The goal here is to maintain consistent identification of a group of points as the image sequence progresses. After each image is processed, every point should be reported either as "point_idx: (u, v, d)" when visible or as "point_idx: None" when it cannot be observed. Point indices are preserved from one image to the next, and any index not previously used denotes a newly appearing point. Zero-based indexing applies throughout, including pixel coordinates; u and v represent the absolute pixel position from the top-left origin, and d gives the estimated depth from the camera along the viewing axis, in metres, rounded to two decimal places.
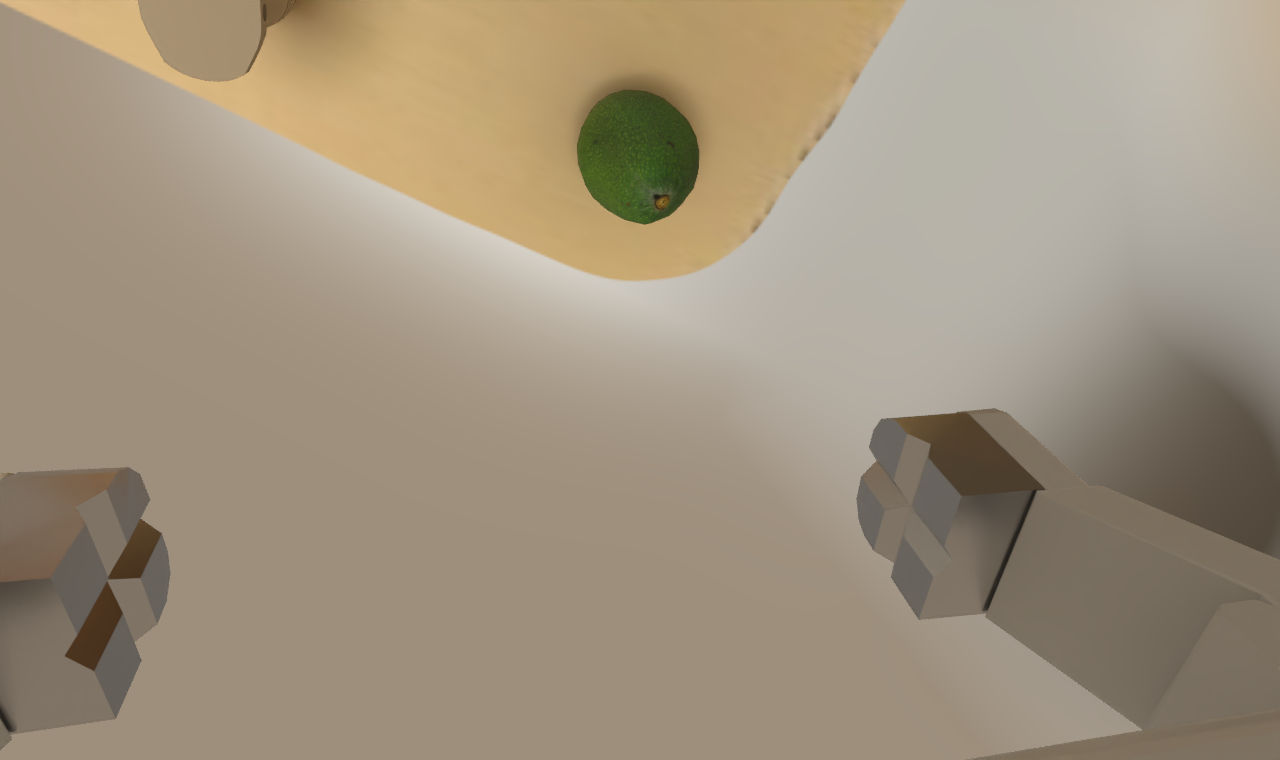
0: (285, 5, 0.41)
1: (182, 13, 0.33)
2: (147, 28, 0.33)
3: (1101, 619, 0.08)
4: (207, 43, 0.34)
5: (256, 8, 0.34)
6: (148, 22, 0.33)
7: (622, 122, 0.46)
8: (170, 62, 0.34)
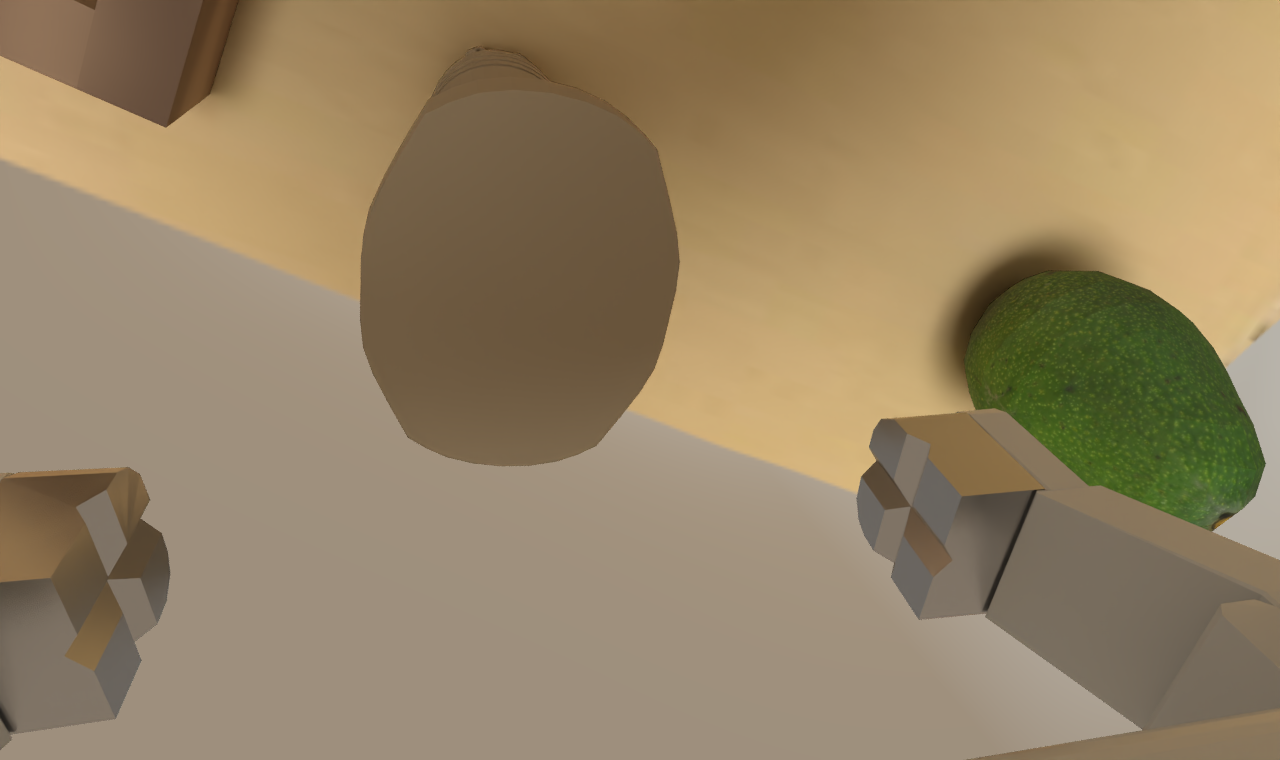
0: None
1: (473, 328, 0.12)
2: (376, 370, 0.12)
3: (1101, 619, 0.08)
4: (523, 388, 0.13)
5: (662, 305, 0.12)
6: (380, 357, 0.12)
7: (1138, 363, 0.25)
8: (422, 437, 0.13)
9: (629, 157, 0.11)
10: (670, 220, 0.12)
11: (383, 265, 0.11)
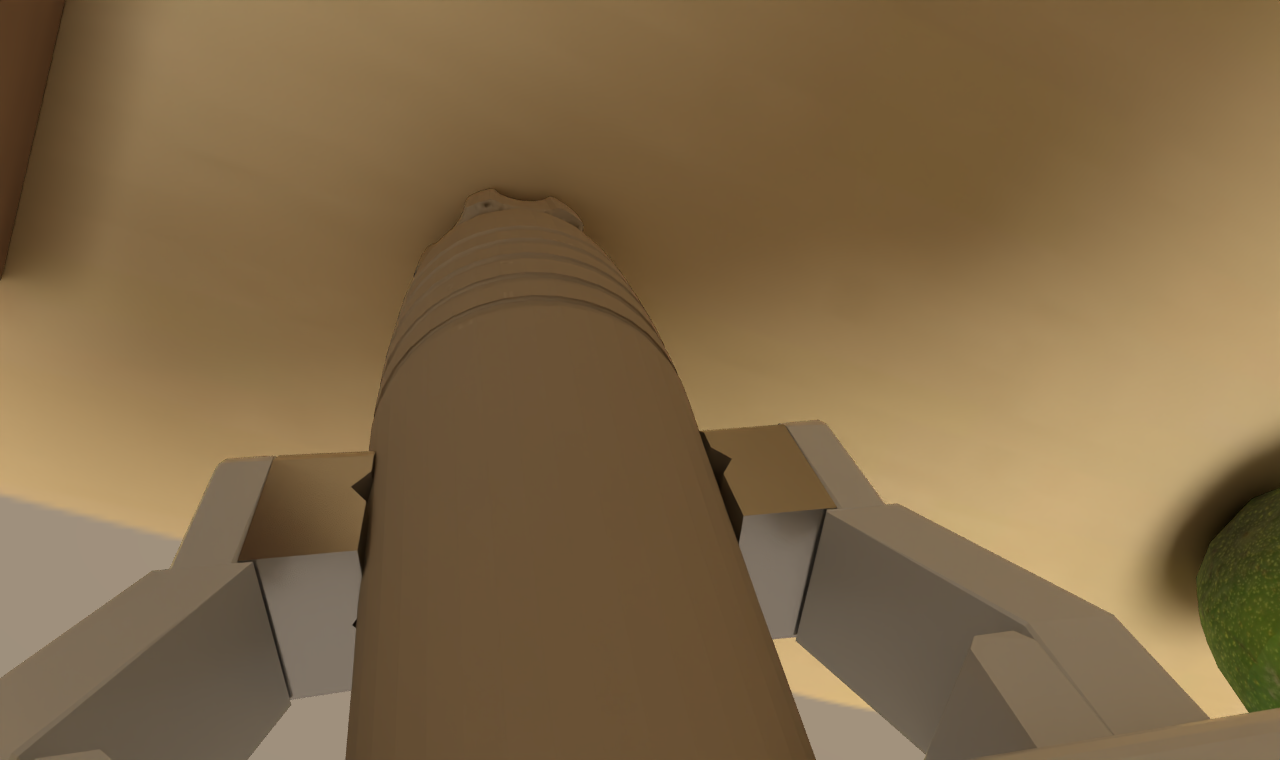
0: None
1: None
2: None
3: (891, 646, 0.07)
4: None
5: None
6: None
7: None
8: None
9: None
10: None
11: None
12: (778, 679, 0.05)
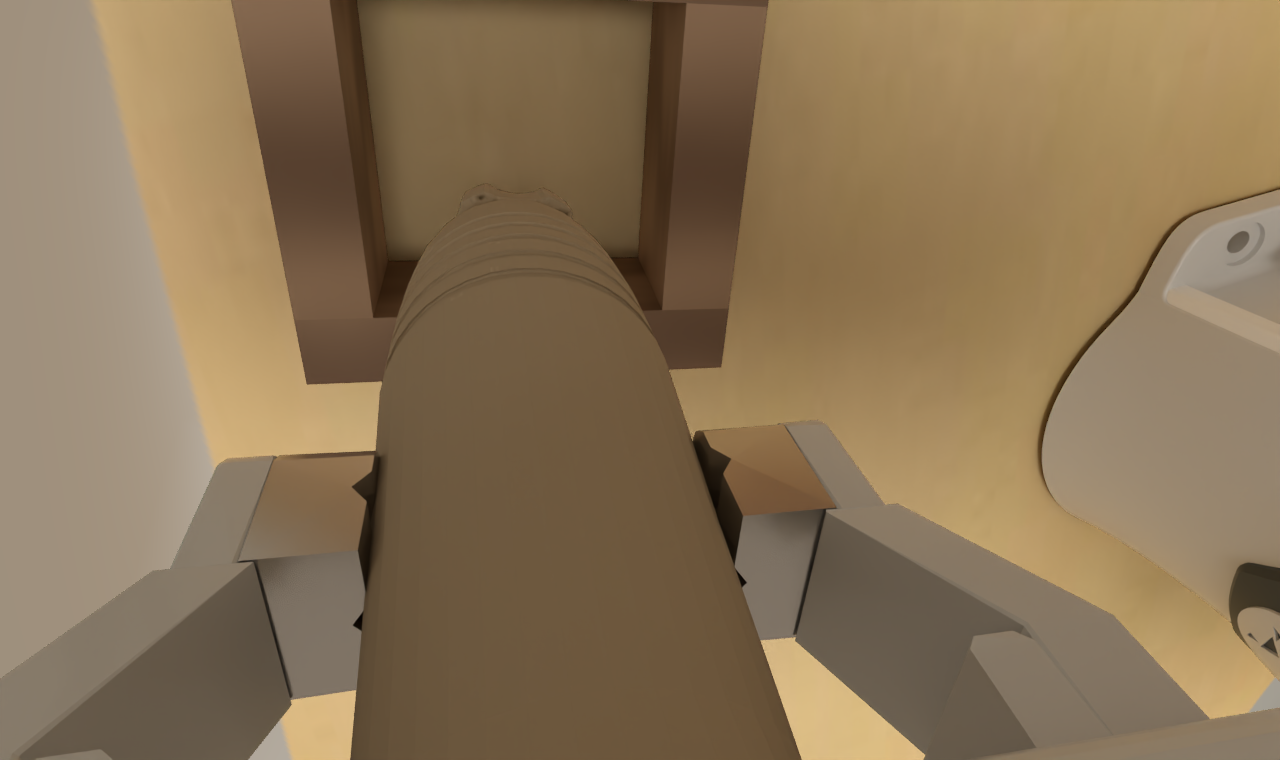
0: None
1: None
2: None
3: (890, 646, 0.07)
4: None
5: None
6: None
7: None
8: None
9: None
10: None
11: None
12: (722, 568, 0.06)
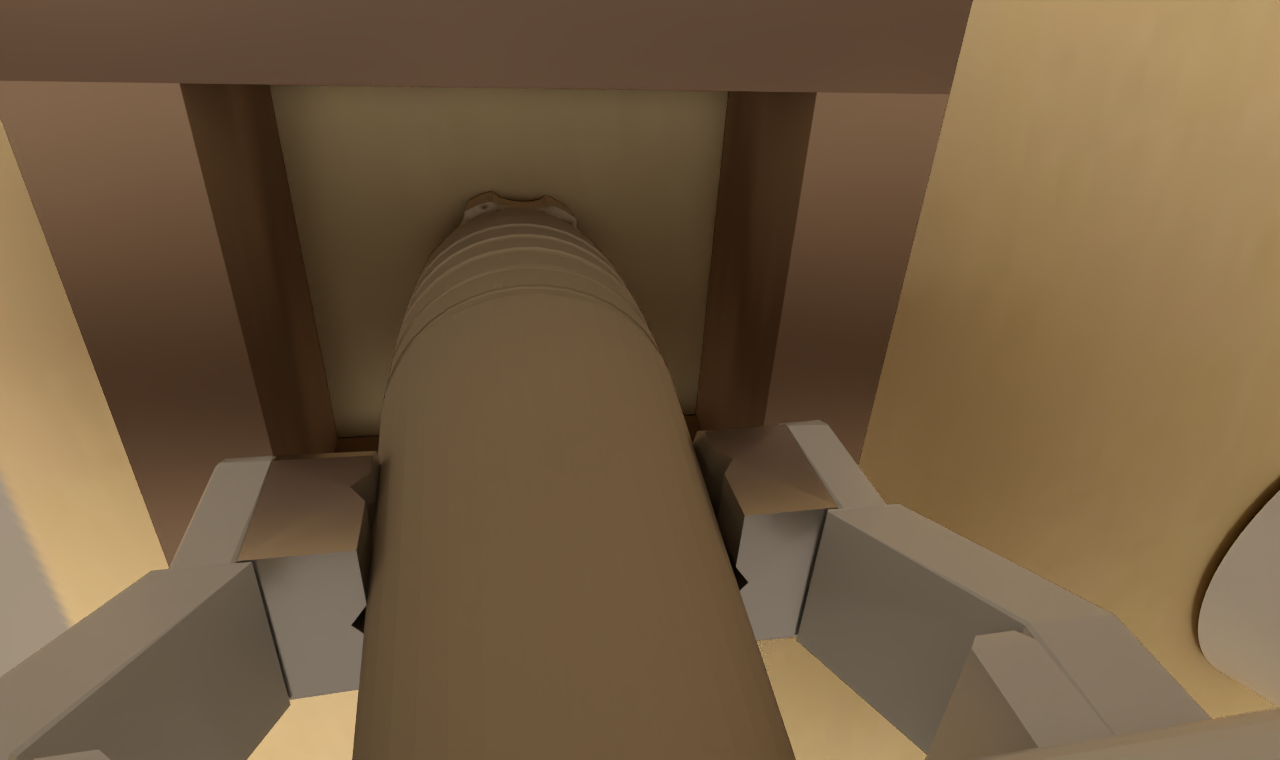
0: None
1: None
2: None
3: (892, 646, 0.07)
4: None
5: None
6: None
7: None
8: None
9: None
10: None
11: None
12: (730, 604, 0.06)
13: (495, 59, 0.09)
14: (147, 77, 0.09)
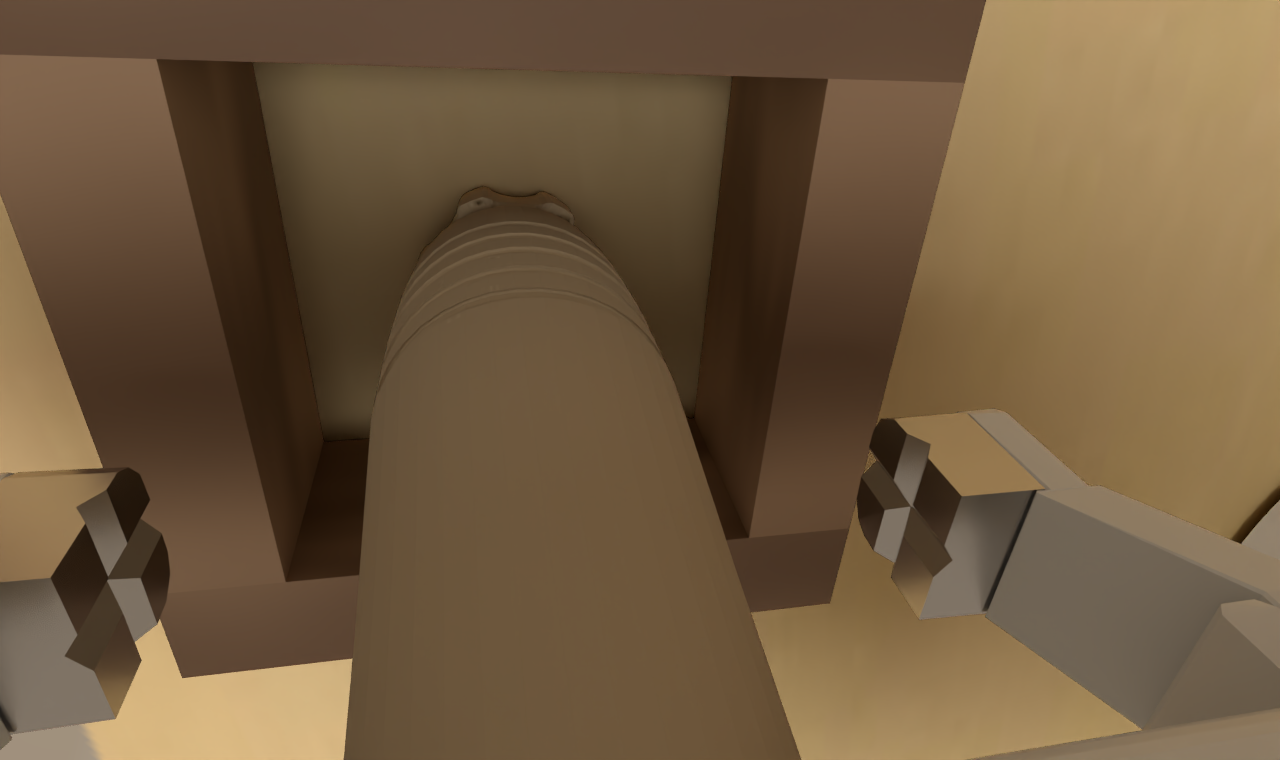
0: None
1: None
2: None
3: (1101, 619, 0.08)
4: None
5: None
6: None
7: None
8: None
9: None
10: None
11: None
12: (746, 637, 0.06)
13: (493, 38, 0.09)
14: (122, 52, 0.08)
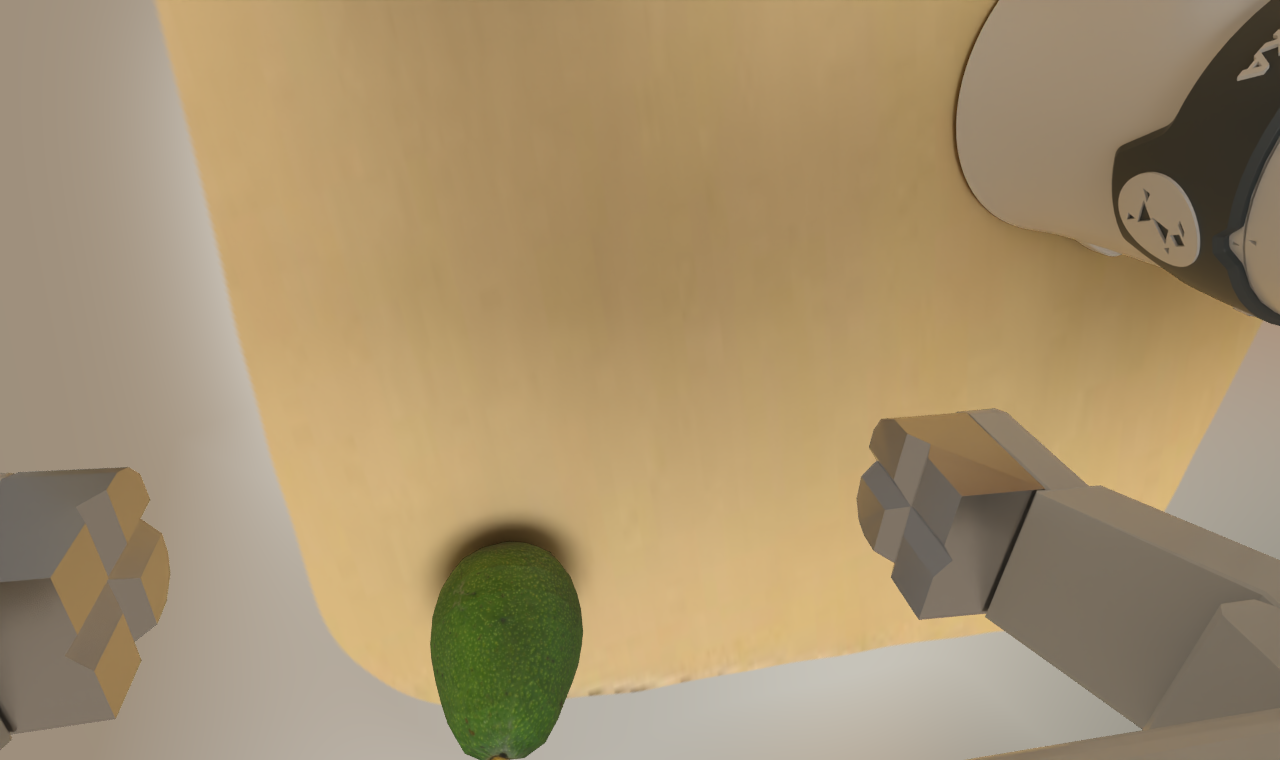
0: None
1: None
2: None
3: (1101, 619, 0.08)
4: None
5: None
6: None
7: (544, 636, 0.36)
8: None
9: None
10: None
11: None
12: None
13: None
14: None
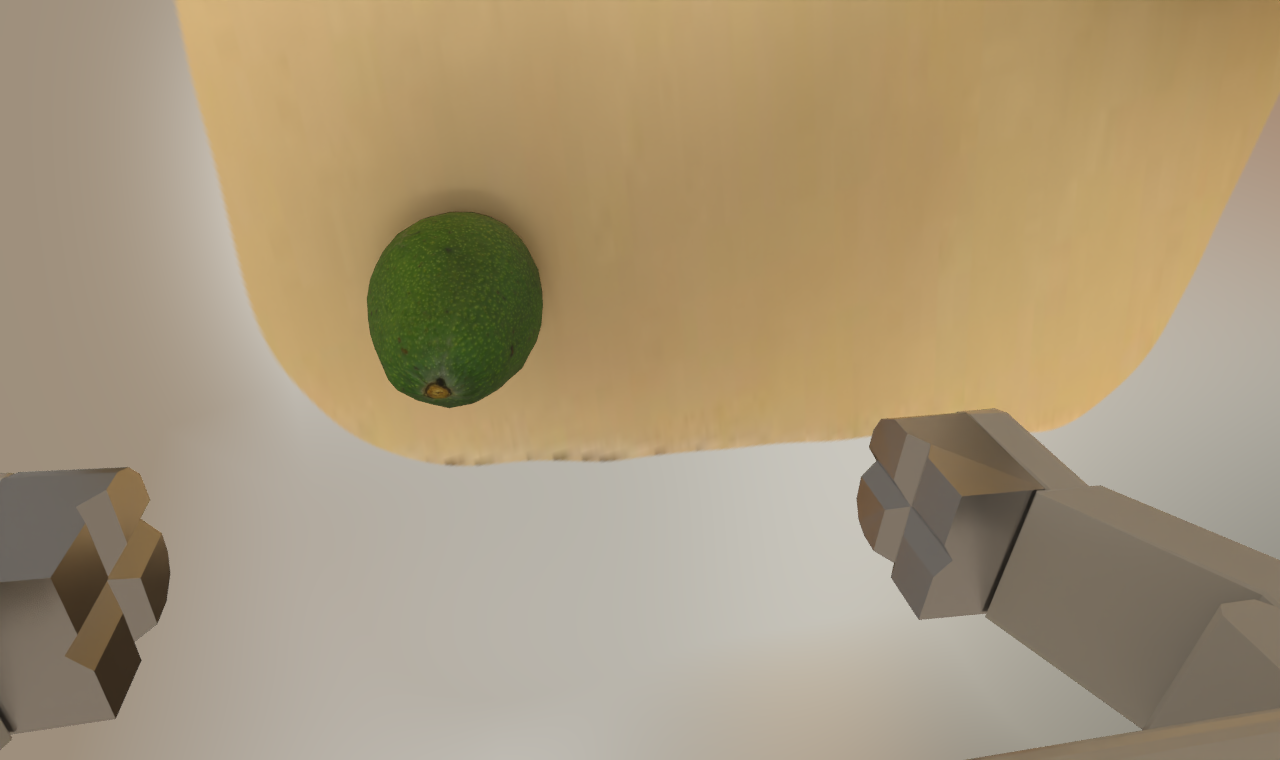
0: None
1: None
2: None
3: (1101, 619, 0.08)
4: None
5: None
6: None
7: (495, 273, 0.32)
8: None
9: None
10: None
11: None
12: None
13: None
14: None
